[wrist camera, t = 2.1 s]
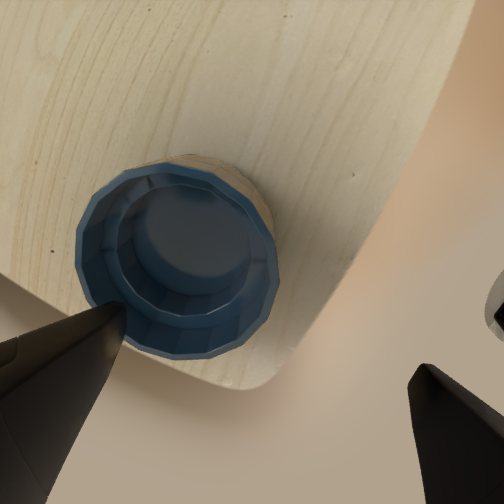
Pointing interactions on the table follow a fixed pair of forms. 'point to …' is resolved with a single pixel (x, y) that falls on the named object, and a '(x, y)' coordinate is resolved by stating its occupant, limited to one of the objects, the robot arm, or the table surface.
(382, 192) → the table surface
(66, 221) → the table surface
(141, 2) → the table surface
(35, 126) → the table surface
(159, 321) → the bowl
